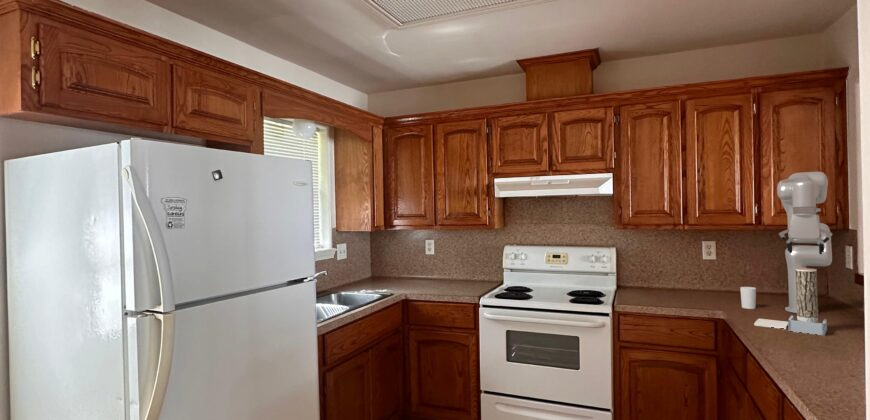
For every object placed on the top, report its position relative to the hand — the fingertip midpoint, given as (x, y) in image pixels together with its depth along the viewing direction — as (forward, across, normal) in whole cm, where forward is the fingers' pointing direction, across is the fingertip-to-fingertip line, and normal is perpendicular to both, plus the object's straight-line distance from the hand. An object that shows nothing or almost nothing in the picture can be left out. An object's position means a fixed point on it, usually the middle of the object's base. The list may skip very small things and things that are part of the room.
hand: (805, 253), depth 195 cm
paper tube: (+32, 0, -1) cm, 32 cm away
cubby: (+31, 0, -1) cm, 31 cm away
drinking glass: (+31, +27, -39) cm, 56 cm away
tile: (+31, +13, -4) cm, 34 cm away
